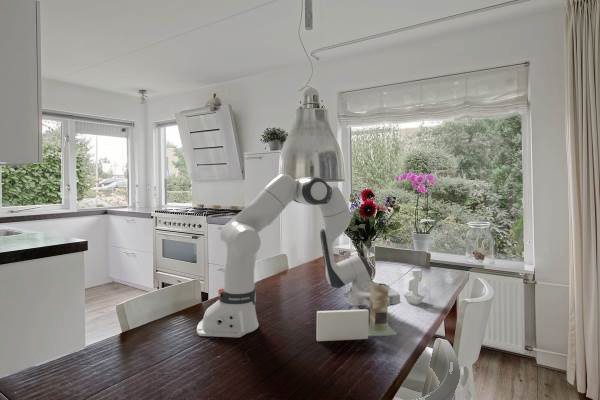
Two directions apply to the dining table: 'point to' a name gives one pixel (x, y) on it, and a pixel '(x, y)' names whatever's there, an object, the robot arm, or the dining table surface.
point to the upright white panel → (342, 325)
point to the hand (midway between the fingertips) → (379, 304)
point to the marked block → (378, 306)
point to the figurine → (414, 288)
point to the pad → (380, 331)
